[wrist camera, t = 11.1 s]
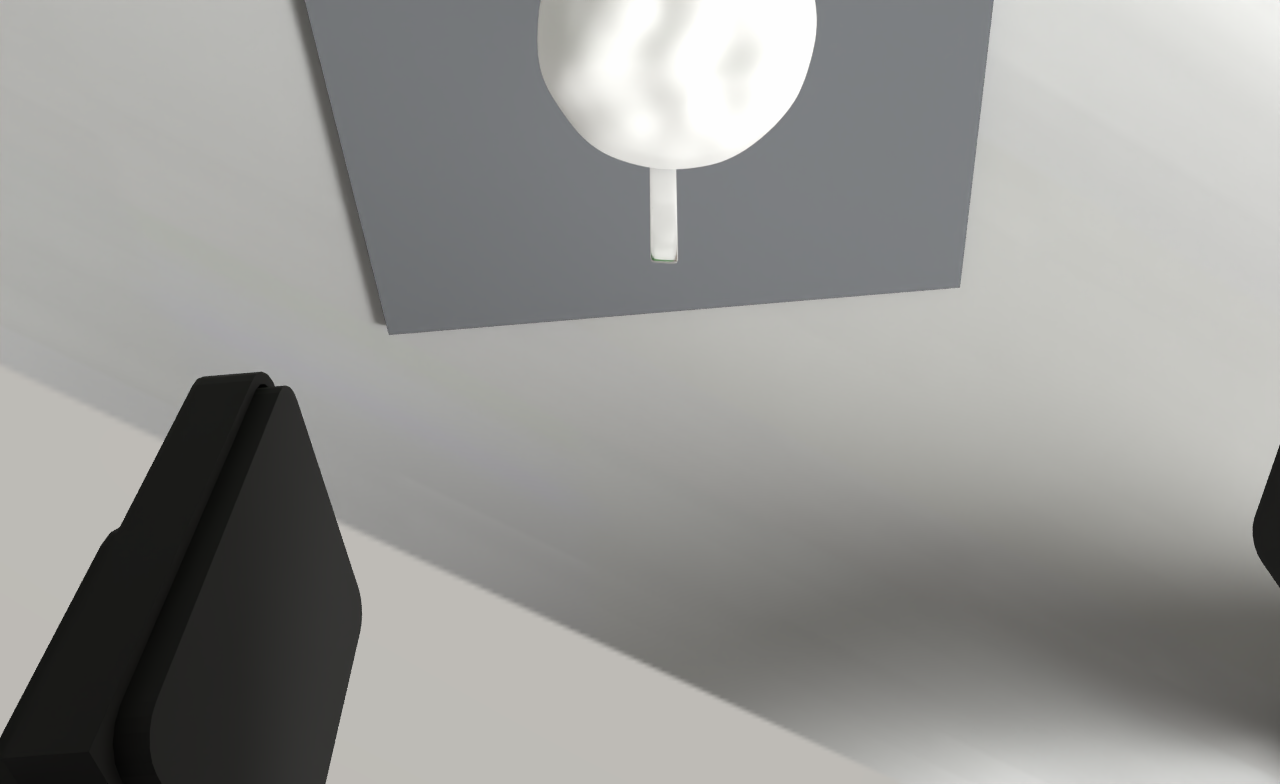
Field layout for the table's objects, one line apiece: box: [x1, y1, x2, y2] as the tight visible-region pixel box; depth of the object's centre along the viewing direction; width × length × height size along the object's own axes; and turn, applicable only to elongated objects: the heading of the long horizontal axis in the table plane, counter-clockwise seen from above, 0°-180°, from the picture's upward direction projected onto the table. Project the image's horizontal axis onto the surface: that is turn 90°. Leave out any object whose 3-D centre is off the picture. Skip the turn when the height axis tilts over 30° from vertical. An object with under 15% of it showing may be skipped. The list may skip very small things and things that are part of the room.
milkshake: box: [537, 0, 817, 264], centre depth 20 cm, size 4×5×10 cm
